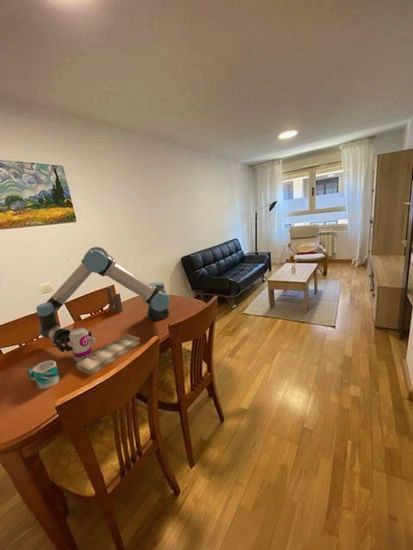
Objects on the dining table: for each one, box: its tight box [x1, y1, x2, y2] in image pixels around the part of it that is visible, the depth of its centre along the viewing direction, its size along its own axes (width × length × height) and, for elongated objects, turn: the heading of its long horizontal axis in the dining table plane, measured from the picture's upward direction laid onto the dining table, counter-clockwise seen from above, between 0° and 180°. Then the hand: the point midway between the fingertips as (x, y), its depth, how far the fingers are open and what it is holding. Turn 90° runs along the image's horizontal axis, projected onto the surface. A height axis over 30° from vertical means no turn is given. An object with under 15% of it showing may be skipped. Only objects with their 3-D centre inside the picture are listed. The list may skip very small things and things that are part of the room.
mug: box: [26, 359, 61, 390], centre depth 104 cm, size 8×12×8 cm
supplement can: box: [69, 327, 94, 363], centre depth 118 cm, size 8×8×15 cm
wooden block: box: [105, 286, 124, 314], centre depth 175 cm, size 4×11×18 cm, turn 62°
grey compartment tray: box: [75, 334, 141, 376], centre depth 122 cm, size 30×10×3 cm, turn 149°
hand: (86, 345), depth 116 cm, fingers closed on supplement can, 8 cm apart
